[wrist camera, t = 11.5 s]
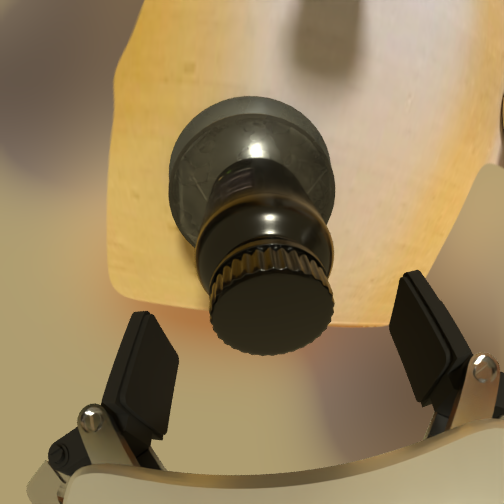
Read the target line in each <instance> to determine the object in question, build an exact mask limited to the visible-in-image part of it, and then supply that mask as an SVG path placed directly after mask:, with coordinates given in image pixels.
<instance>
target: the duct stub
mask: <svg viewBox="0 0 504 504" xmlns="http://www.w3.org/2000/svg"><path fill="white" fill-rule="evenodd" d="M247 158H267V159H271V160H274V161H276V162H278V163H280V164H282V165H284V166H285V167H286V168H288V169H289V170H290V171H291V172H292V173H293V174H294V176H295V177H296V178H297V180H298V181H299V182H300V184H301V185H302V187H303V188H304V190H305V192H306V193H307V195H308V196H309V198H310V199H311V201H312V203H313V204H314V206H315V207H316V209H317V210H318V212H319V214H320V215H321V217H322V219H323V220H324V222H325V224H326V225H327V223H328V220H329V218H330V216H331V213H332V209H333V206H334V200H335V181H334V175H333V171H332V168H331V163H330V157H329V153H328V150H327V147H326V144H325V142H324V140H323V138H322V136H321V135H320V133H319V131H318V130H317V128H316V127H315V126H314V125H313V124H312V123H311V121H310V120H309V119H308V118H306V117H305V116H304V115H303V114H302V113H301V112H299V111H297V110H296V109H294V108H293V107H291V106H289V105H287V104H285V103H282V102H280V101H277V100H273V99H270V98H264V97H258V96H244V97H236V98H232V99H228V100H224V101H222V102H219V103H217V104H214V105H212V106H210V107H209V108H207V109H205V110H204V111H202V112H201V113H200V114H198V115H197V116H196V117H195V118H193V119H192V121H191V122H190V123H189V124H188V125H187V126H186V127H185V128H184V130H183V131H182V133H181V134H180V136H179V138H178V139H177V141H176V143H175V146H174V149H173V151H172V154H171V159H170V164H169V203H170V208H171V212H172V216H173V218H174V220H175V223H176V225H177V227H178V228H179V230H180V232H181V233H182V235H183V236H184V237H185V238H186V240H187V241H188V242H189V243H190V244H191V245H192V246H193V247H194V248H196V243H197V238H198V234H199V231H200V227H201V223H202V220H203V216H204V212H205V209H206V205H207V202H208V198H209V195H210V192H211V189H212V186H213V184H214V182H215V181H216V179H217V177H218V176H219V175H220V174H221V173H222V172H223V171H224V170H225V169H226V168H227V167H229V166H230V165H232V164H233V163H235V162H238V161H240V160H243V159H247Z"/></svg>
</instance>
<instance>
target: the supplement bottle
mask: <svg viewBox="0 0 504 504" xmlns="http://www.w3.org/2000/svg"><path fill="white" fill-rule="evenodd" d="M333 261H334V246H333V241H332V237H331V235H330V232H329V230H328V228H327V226H326V224H325V222H324V220H323V219H322V217H321V215H320V214H319V212H318V210H317V209H316V207H315V206H314V204H313V203H312V201H311V199H310V198H309V196H308V195H307V193H306V192H305V190H304V188H303V187H302V185H301V184H300V182H299V181H298V180H297V178H296V177H295V176H294V174H293V173H292V172H291V171H290V170H289V169H288V168H286V167H285V166H284V165H282V164H280V163H278V162H276V161H274V160H271V159H267V158H247V159H243V160H240V161H238V162H235V163H233V164H232V165H230V166H229V167H227V168H226V169H225V170H224V171H223V172H222V173H221V174H220V175H219V176H218V177H217V179H216V181H215V182H214V184H213V186H212V189H211V192H210V195H209V198H208V202H207V205H206V209H205V212H204V216H203V220H202V223H201V227H200V231H199V234H198V238H197V243H196V248H195V268H196V272H197V276H198V278H199V281H200V283H201V285H202V287H203V288H204V290H205V291H206V292H207V294H208V295H209V298H210V306H209V313H210V322H211V324H212V325H213V330H214V331H215V332H216V333H217V335H218V338H220V339H222V340H223V341H224V343H225V344H227V345H230V346H231V347H232V348H233V349H237V350H239V351H241V352H244V353H249V354H251V355H261V356H265V355H271V356H274V355H277V354H285V353H288V352H293V351H295V350H297V349H299V348H303V347H304V346H306V345H307V344H309V343H312V342H313V341H314V340H315V339H316V338H318V337H319V336H320V335H321V334H322V332H323V331H325V330H326V329H327V325H328V324H329V323H330V322H331V316H332V315H333V313H334V309H333V307H334V304H335V303H334V299H333V292H332V289H331V287H330V284H329V282H328V278H329V276H330V273H331V270H332V267H333Z"/></svg>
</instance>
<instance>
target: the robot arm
mask: <svg viewBox="0 0 504 504" xmlns="http://www.w3.org/2000/svg"><path fill="white" fill-rule="evenodd" d="M503 127H504V99H503ZM389 330H390V334H391V336H392V338H393V341H394V343H395V345H396V348H397V350H398V353H399V355H400V358H401V360H402V363H403V365H404V368H405V370H406V373H407V376H408V378H409V381H410V384H411V387H412V389H413V392H414V395H415V398H416V400H417V401H418V402H421V404H422V407H425V406H427V405H430V404H432V405H433V408H434V411H435V412H434V414H433V417H432V419H431V422H430V424H429V427H428V429H427V432H426V434H425V436H424V439H423V441H420V442H417V443H415V444H412V445H409V446H406V447H403V448H400V449H397V450H394V451H391V452H388V453H384V454H381V455H377V456H374V457H370V458H366V459H363V460H358V461H354V462H350V463H346V464H341V465H336V466H331V467H325V468H319V469H313V470H306V471H299V472H290V473H278V474H265V475H264V474H263V475H205V474H192V473H181V472H172V471H167V470H166V468H165V467H164V466H163V464H162V463H161V461H160V460H159V458H158V457H157V455H156V454H155V452H154V451H153V449H152V447H151V446H150V445H151V439H155V440H163V435H165V434H166V433H167V428H168V422H169V416H170V409H171V403H172V398H173V392H174V386H175V380H176V375H177V370H178V364H179V358H178V355H177V353H176V351H175V350H174V348H173V346H172V345H171V343H170V342H169V340H168V338H167V337H166V335H165V333H164V332H163V330H162V328H161V327H160V325H159V323H158V322H157V320H156V318H155V316H154V315H153V314H150V313H149V312H148V311H140V312H134V313H133V314H132V316H131V318H130V321H129V323H128V326H127V329H126V331H125V334H124V336H123V339H122V342H121V345H120V348H119V350H118V353H117V356H116V359H115V361H114V364H113V367H112V370H111V373H110V376H109V379H108V382H107V385H106V389H105V392H104V395H103V398H102V403H101V405H99V404H90V405H87V406H85V407H84V408H83V409H82V410H81V412H80V413H79V416H78V420H77V425H78V427H76V428H75V429H74V430H72V431H71V432H69V433H68V434H66V435H65V436H63V437H62V438H60V439H59V440H57V441H56V442H54V443H53V444H52V445H51V447H50V449H49V453H48V459H49V461H46V460H45V462H44V463H43V464H42V466H41V467H40V468H39V469H38V471H37V472H36V474H35V475H34V476H33V477H32V478H31V480H30V481H29V483H28V485H27V495H28V497H29V499H30V501H31V502H32V504H504V373H503V372H500V366H499V363H498V361H497V360H496V358H495V357H494V356H492V355H491V354H489V353H486V352H481V353H477V354H475V355H473V354H472V352H471V350H470V348H469V346H468V344H467V342H466V341H465V339H464V337H463V335H462V334H461V332H460V330H459V328H458V327H457V325H456V324H455V322H454V320H453V318H452V317H451V315H450V314H449V312H448V310H447V309H446V307H445V306H444V304H443V303H442V302H441V301H440V300H439V298H438V297H437V295H436V294H435V292H434V291H433V289H432V288H431V286H430V285H429V283H428V282H427V280H426V279H425V278H424V276H423V275H422V273H421V272H420V271H419V270H415V271H411V272H406V273H404V275H403V277H401V278H400V280H399V285H398V290H397V294H396V299H395V303H394V308H393V312H392V316H391V320H390V324H389Z"/></svg>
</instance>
